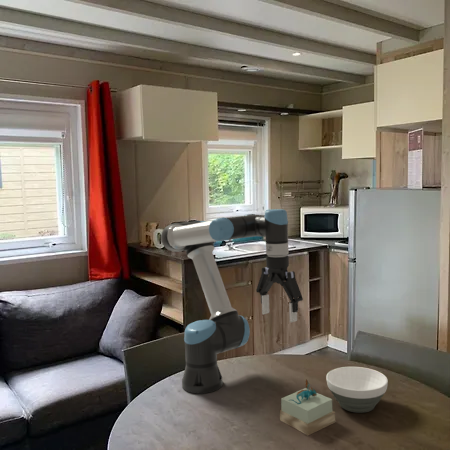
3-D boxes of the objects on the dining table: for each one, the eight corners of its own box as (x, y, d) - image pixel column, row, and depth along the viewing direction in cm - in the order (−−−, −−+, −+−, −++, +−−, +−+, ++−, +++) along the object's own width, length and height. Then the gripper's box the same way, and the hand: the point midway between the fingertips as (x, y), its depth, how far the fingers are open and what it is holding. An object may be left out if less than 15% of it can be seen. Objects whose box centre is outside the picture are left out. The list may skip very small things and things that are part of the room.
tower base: (280, 422, 152) (279, 410, 151) (306, 410, 159) (306, 398, 159) (308, 437, 142) (307, 424, 142) (335, 424, 149) (335, 411, 149)
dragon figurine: (314, 405, 143) (320, 385, 149) (291, 394, 145) (298, 374, 151) (308, 417, 147) (314, 397, 153) (285, 406, 149) (293, 387, 155)
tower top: (281, 410, 151) (281, 398, 151) (305, 399, 158) (305, 388, 157) (308, 423, 142) (307, 410, 142) (332, 411, 149) (332, 399, 149)
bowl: (391, 397, 164) (391, 370, 163) (384, 424, 146) (383, 394, 146) (333, 389, 172) (333, 363, 172) (320, 414, 155) (319, 385, 154)
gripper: (245, 253, 170) (247, 312, 172) (296, 260, 150) (297, 327, 152) (261, 250, 174) (263, 308, 176) (312, 257, 154) (314, 322, 156)
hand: (279, 317), depth 164 cm, fingers open, 13 cm apart
